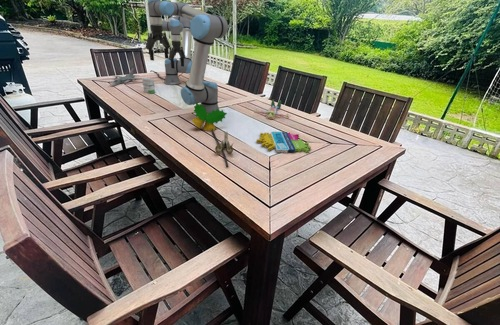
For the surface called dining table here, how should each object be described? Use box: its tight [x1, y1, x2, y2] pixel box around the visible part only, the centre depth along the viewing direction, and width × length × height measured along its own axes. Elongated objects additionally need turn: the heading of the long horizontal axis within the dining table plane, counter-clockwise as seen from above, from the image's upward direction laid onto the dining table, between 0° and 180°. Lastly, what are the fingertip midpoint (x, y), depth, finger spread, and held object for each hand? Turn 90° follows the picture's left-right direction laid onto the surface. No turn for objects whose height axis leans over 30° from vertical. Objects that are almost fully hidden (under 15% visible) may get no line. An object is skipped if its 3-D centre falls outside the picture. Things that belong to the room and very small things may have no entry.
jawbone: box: [214, 131, 234, 156], centre depth 136 cm, size 9×15×10 cm
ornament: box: [191, 102, 228, 132], centre depth 162 cm, size 21×8×15 cm, turn 105°
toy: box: [252, 99, 291, 120], centre depth 197 cm, size 28×7×30 cm
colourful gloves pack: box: [256, 131, 312, 154], centre depth 152 cm, size 26×2×30 cm
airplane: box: [109, 67, 142, 87], centre depth 251 cm, size 38×32×10 cm
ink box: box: [141, 77, 156, 95], centre depth 225 cm, size 9×5×12 cm, turn 62°
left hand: (177, 67), depth 228 cm, fingers open, 13 cm apart
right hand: (159, 59), depth 181 cm, fingers open, 13 cm apart
